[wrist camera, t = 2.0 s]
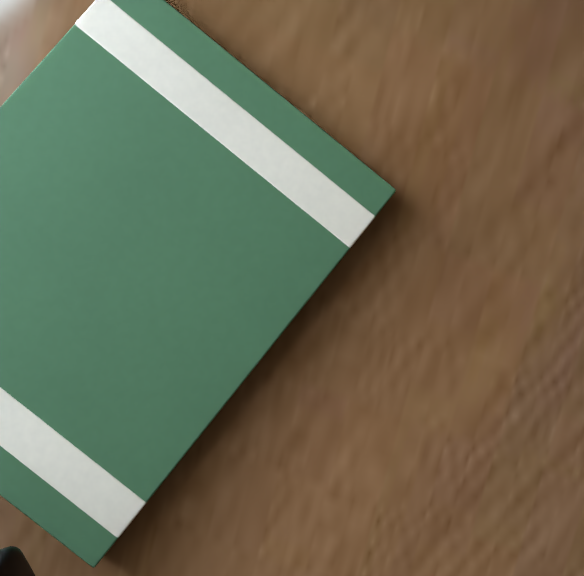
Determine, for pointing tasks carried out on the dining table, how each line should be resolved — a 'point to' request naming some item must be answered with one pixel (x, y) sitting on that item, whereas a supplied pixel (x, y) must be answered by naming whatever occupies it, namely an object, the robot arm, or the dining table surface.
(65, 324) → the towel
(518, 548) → the dining table surface
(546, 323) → the dining table surface
